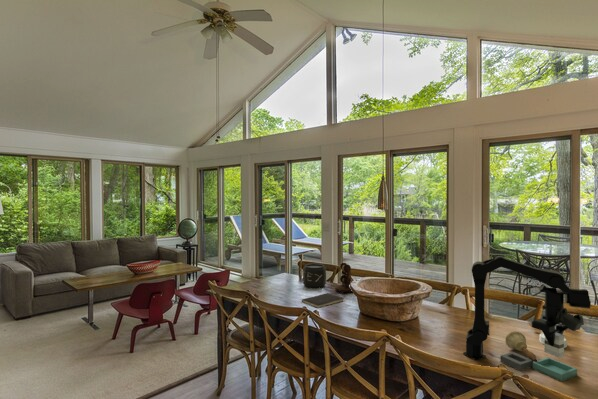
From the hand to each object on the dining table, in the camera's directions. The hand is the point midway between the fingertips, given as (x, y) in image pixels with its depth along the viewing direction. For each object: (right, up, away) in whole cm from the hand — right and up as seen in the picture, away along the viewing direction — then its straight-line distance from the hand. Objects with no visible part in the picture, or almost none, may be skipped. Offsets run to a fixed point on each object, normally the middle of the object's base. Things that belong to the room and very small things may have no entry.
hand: (554, 344), depth 127 cm
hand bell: (-3, -6, +19) cm, 20 cm away
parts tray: (0, -10, 0) cm, 10 cm away
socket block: (-10, -10, +6) cm, 16 cm away
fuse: (0, -4, 0) cm, 4 cm away
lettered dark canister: (-86, -11, +128) cm, 155 cm away
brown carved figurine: (-64, -11, +114) cm, 131 cm away
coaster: (+18, -11, +25) cm, 33 cm away
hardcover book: (-82, -12, +90) cm, 122 cm away
